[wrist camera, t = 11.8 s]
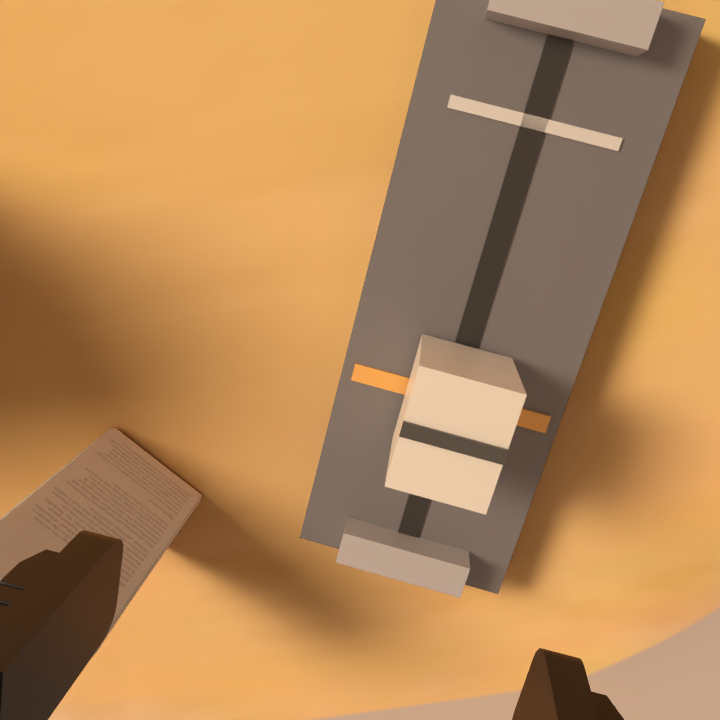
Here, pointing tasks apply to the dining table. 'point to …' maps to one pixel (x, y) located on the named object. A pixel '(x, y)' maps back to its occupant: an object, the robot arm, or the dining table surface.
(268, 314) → the dining table surface
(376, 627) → the dining table surface
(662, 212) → the dining table surface
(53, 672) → the robot arm
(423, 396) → the fader knob
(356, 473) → the fader board
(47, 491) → the skincare box
